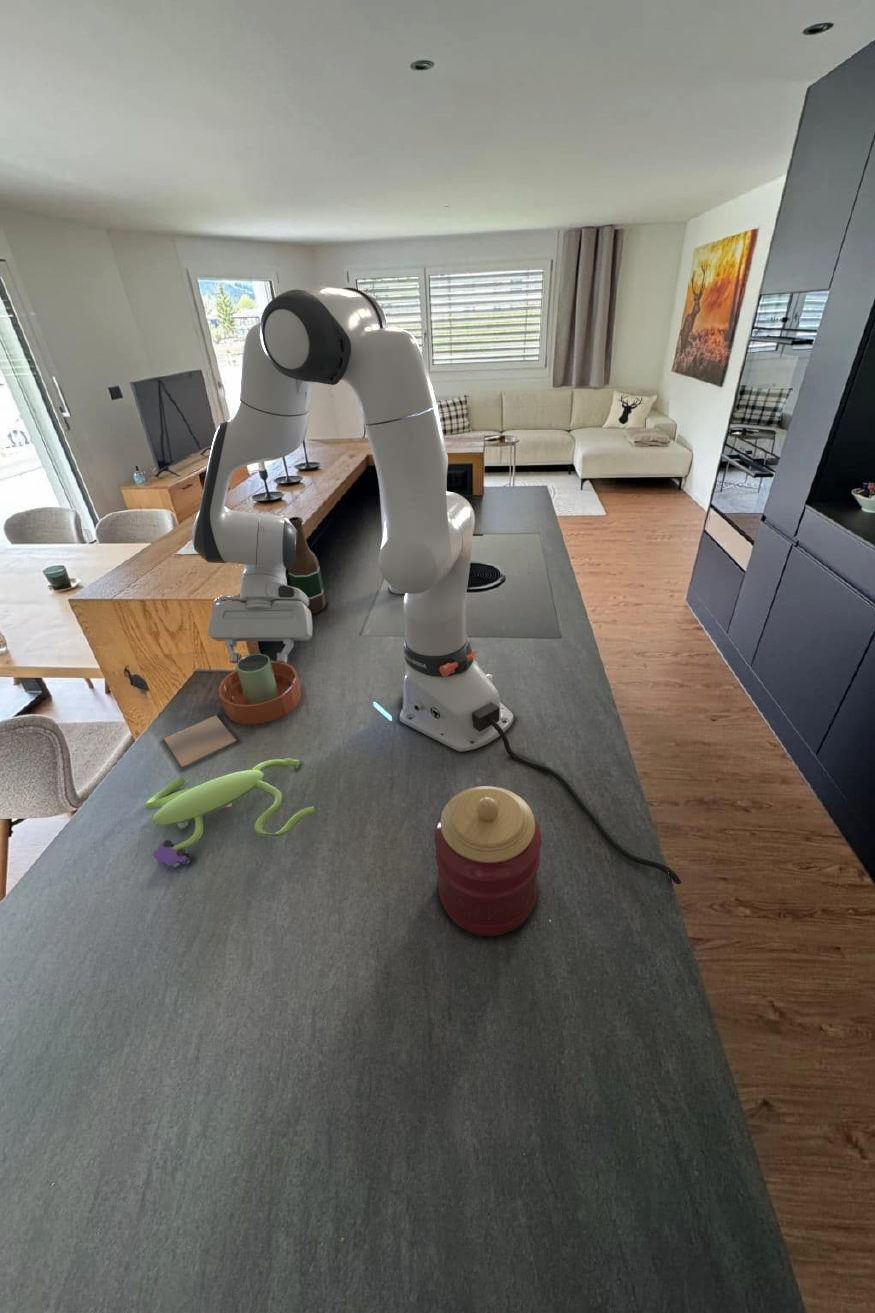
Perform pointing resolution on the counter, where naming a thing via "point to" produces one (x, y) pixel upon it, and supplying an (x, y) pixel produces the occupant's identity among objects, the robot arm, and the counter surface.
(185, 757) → the coaster
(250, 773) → the figurine
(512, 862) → the kitchen canister
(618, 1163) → the counter surface
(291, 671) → the bowl
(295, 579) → the beer bottle
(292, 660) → the counter surface
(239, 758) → the counter surface
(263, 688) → the cup
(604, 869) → the counter surface
